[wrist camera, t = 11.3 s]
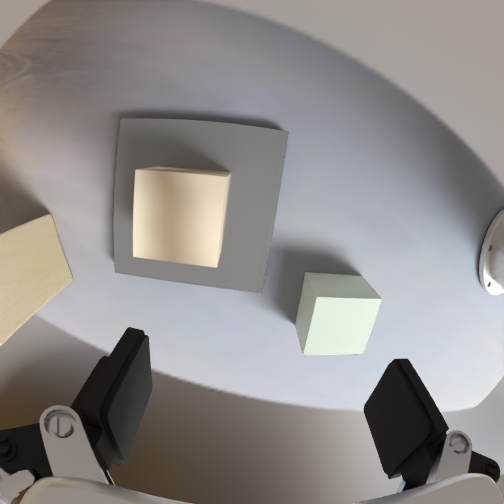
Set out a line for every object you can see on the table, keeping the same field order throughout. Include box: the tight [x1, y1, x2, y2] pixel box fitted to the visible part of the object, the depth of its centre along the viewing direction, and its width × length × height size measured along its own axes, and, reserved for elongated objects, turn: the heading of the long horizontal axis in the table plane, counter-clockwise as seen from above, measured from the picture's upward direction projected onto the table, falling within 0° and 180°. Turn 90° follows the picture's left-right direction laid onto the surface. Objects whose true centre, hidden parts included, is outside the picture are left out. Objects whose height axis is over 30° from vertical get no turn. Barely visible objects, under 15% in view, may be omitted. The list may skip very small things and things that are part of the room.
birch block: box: [133, 166, 231, 268], centre depth 20 cm, size 6×6×5 cm
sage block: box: [295, 272, 382, 355], centre depth 25 cm, size 6×6×5 cm
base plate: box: [113, 118, 288, 293], centre depth 23 cm, size 14×14×2 cm
